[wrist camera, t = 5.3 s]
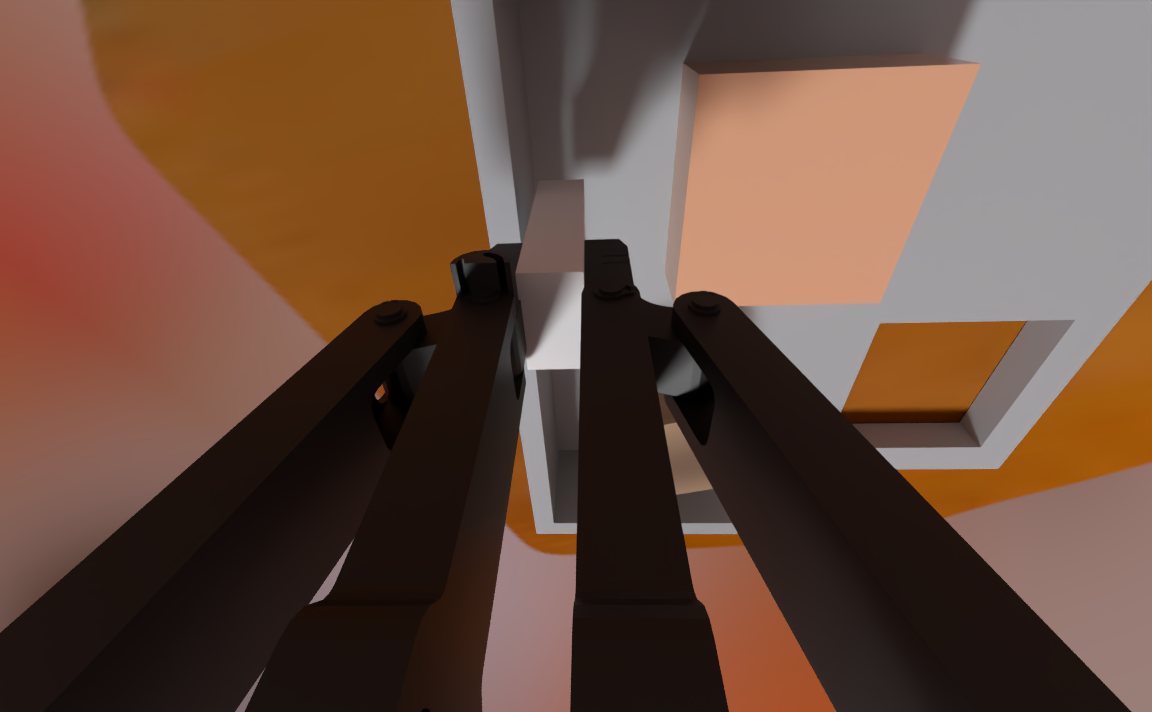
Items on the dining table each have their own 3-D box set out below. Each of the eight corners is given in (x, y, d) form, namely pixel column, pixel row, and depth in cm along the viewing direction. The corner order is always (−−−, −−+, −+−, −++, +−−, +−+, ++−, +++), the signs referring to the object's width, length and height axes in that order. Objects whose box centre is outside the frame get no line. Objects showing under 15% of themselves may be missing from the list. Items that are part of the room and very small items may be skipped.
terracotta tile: (683, 62, 16) (699, 74, 14) (922, 53, 16) (981, 63, 13) (664, 272, 21) (674, 307, 19) (846, 267, 21) (880, 303, 18)
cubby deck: (488, -78, 15) (431, -119, 10) (1393, -128, 14) (1903, -205, 9) (547, 446, 31) (538, 543, 26) (976, 444, 30) (1063, 544, 25)
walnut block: (607, 363, 24) (610, 435, 20) (703, 341, 23) (727, 412, 19) (629, 427, 27) (635, 501, 23) (716, 410, 26) (738, 484, 22)
